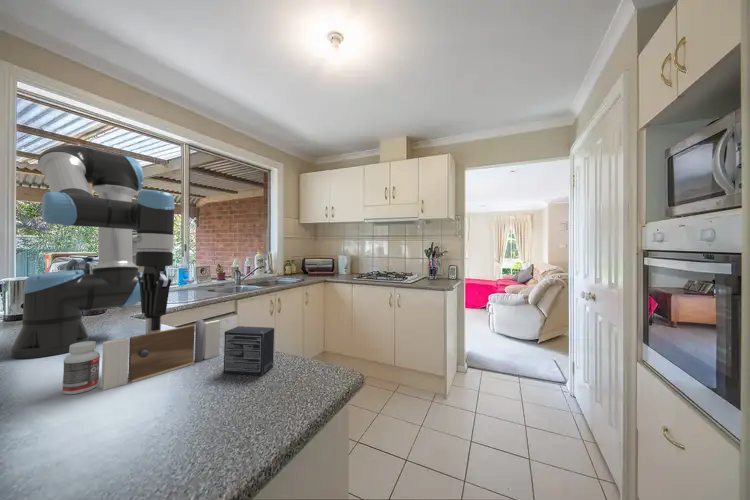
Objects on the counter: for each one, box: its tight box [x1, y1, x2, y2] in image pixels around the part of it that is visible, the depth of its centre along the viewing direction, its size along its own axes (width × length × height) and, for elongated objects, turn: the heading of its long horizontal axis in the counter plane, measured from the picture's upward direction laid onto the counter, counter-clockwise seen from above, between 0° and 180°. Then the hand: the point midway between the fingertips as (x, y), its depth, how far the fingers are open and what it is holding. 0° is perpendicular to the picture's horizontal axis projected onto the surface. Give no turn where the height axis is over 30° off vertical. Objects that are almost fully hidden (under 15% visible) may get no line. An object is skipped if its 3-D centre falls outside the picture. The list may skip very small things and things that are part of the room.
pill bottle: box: [62, 340, 101, 395], centre depth 60 cm, size 5×5×10 cm
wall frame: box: [100, 319, 221, 391], centre depth 71 cm, size 3×25×11 cm, turn 149°
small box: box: [223, 325, 275, 376], centre depth 72 cm, size 11×6×10 cm, turn 84°
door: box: [127, 324, 196, 380], centre depth 70 cm, size 2×14×10 cm, turn 149°
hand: (152, 342), depth 72 cm, fingers closed
